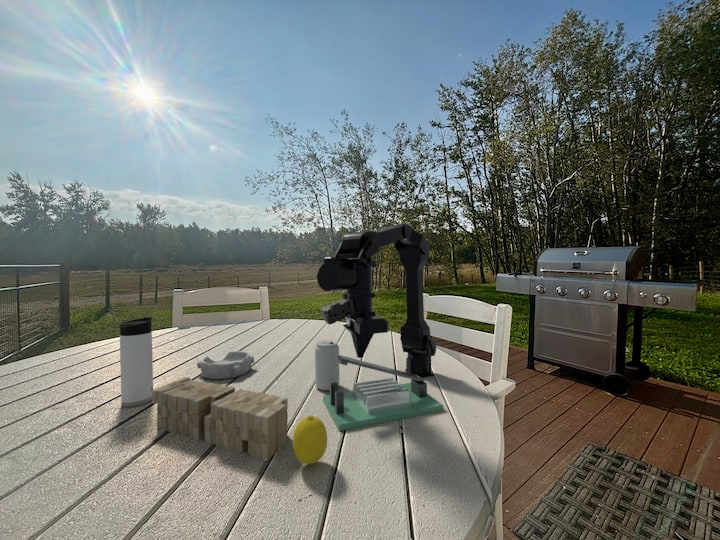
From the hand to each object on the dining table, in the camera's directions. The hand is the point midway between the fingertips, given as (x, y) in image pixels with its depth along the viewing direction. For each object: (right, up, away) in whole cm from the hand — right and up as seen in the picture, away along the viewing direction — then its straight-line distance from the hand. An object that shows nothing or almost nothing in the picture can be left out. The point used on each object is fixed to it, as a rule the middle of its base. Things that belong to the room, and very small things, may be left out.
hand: (359, 357), depth 69 cm
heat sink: (+5, -11, +2) cm, 12 cm away
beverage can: (-9, -12, +13) cm, 20 cm away
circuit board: (+5, -12, +2) cm, 13 cm away
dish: (-41, -12, +25) cm, 49 cm away
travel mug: (-54, -12, +5) cm, 55 cm away
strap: (+5, -4, +2) cm, 6 cm away
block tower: (-27, -13, -9) cm, 31 cm away
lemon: (-8, -12, -19) cm, 24 cm away
